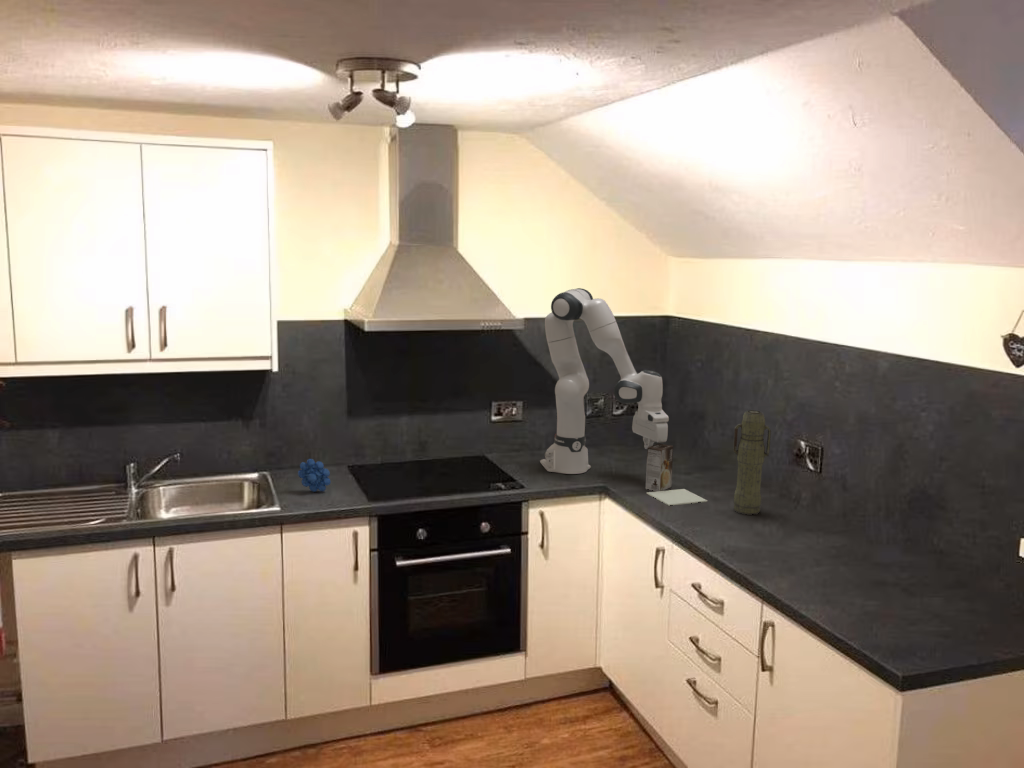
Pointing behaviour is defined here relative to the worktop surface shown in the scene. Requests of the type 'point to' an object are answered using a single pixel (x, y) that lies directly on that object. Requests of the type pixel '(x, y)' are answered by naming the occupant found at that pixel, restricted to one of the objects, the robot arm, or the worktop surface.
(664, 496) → the mat
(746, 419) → the thermos
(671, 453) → the coffee box
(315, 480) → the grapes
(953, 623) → the worktop surface
